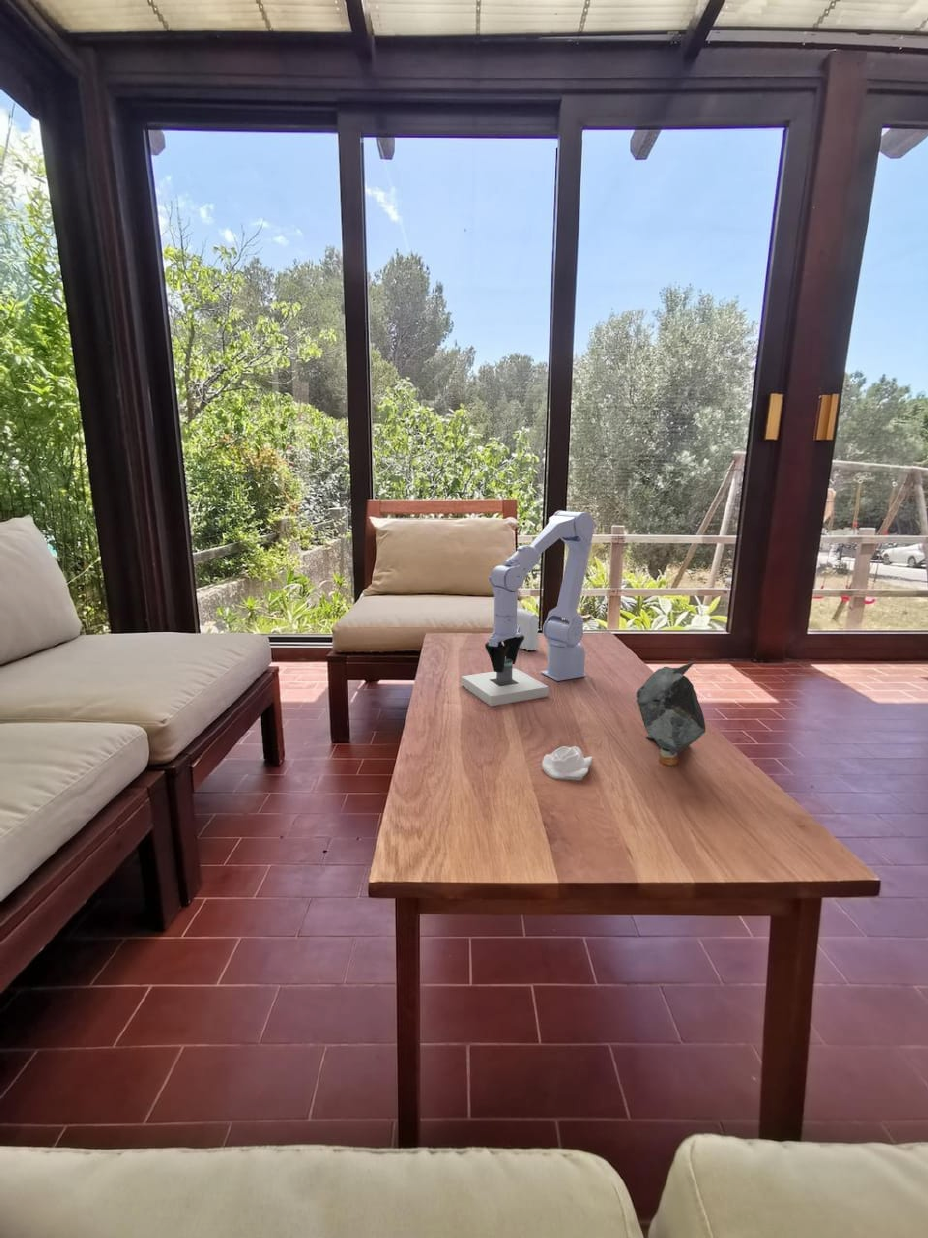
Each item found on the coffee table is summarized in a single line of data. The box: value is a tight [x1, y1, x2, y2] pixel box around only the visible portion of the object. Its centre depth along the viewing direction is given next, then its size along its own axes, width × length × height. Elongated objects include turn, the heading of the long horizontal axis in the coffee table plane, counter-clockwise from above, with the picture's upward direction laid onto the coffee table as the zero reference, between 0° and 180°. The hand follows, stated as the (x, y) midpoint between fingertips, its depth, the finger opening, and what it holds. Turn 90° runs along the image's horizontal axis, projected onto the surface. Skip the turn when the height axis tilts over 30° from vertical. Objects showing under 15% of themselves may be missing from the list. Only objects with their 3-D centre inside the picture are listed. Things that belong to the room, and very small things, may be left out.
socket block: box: [461, 667, 550, 707], centre depth 149 cm, size 16×16×2 cm
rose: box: [541, 745, 594, 781], centre depth 109 cm, size 10×4×10 cm
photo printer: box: [517, 608, 539, 651], centre depth 187 cm, size 10×4×12 cm, turn 39°
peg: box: [496, 657, 514, 686], centre depth 149 cm, size 4×4×8 cm
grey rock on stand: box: [636, 659, 706, 767], centre depth 113 cm, size 14×15×18 cm
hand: (504, 667), depth 148 cm, fingers open, 7 cm apart
